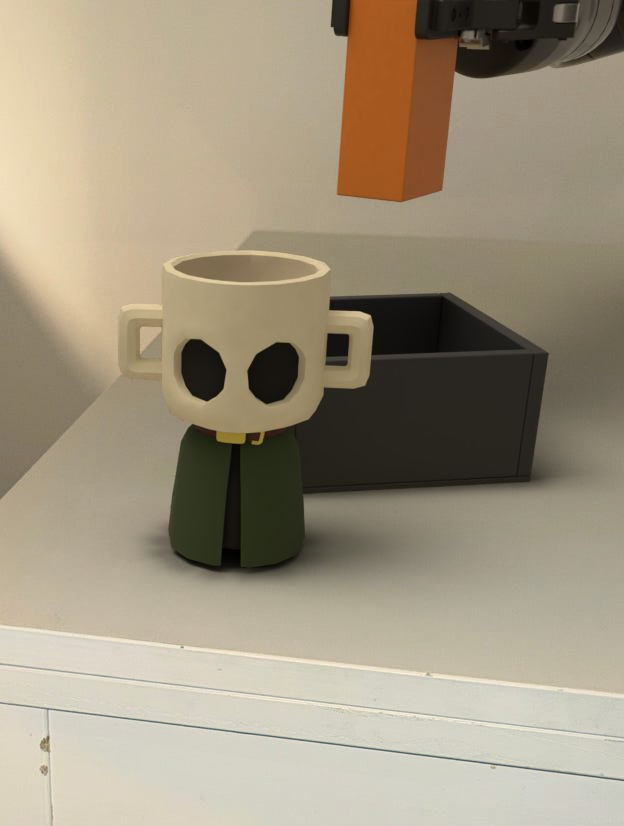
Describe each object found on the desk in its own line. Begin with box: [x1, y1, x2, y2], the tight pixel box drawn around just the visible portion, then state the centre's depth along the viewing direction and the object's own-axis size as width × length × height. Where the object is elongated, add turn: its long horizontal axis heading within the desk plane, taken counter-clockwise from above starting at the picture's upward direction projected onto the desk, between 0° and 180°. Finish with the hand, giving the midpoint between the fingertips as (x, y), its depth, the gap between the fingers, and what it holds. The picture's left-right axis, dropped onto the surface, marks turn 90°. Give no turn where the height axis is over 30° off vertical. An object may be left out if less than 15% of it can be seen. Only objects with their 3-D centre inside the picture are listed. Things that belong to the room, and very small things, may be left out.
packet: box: [336, 0, 458, 203], centre depth 70 cm, size 5×4×11 cm
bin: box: [289, 292, 550, 495], centre depth 72 cm, size 14×14×7 cm
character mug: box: [117, 249, 373, 569], centre depth 58 cm, size 11×7×13 cm, turn 82°
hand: (381, 14), depth 66 cm, fingers closed on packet, 4 cm apart
